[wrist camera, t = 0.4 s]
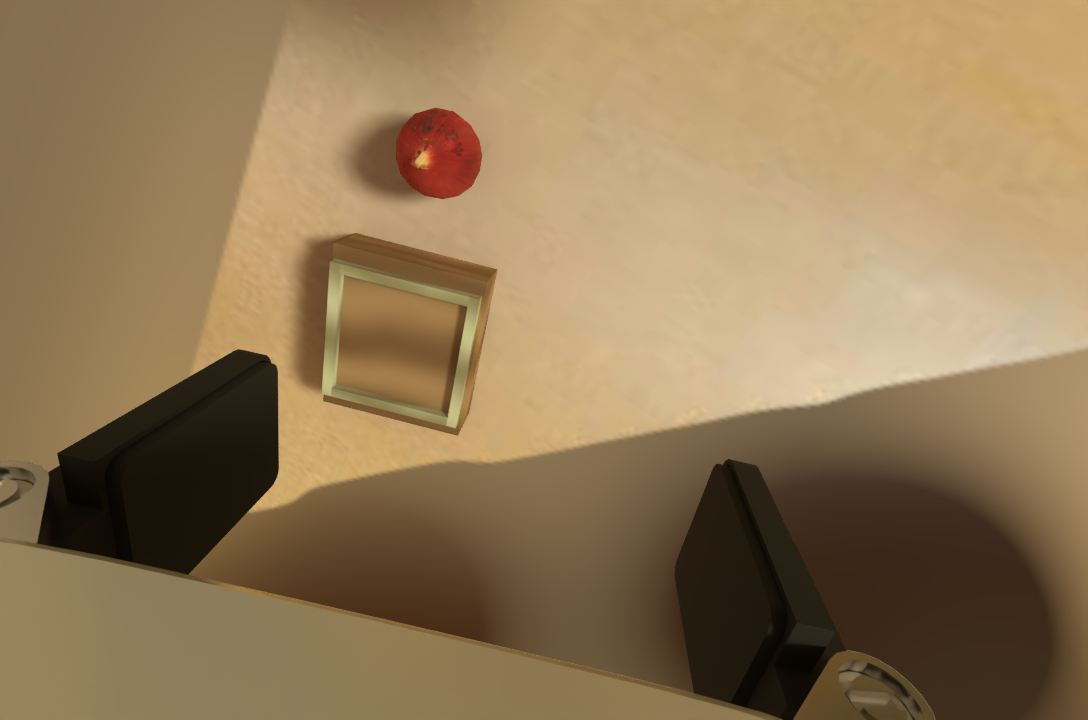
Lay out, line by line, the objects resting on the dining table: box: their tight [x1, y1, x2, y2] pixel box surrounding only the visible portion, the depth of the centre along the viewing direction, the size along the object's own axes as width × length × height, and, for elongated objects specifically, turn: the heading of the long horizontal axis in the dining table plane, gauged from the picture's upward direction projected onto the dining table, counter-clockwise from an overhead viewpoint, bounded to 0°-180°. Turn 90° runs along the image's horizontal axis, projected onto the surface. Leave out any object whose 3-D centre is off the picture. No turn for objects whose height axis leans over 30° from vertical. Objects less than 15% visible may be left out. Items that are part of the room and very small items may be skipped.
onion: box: [396, 108, 482, 199], centre depth 36 cm, size 6×6×8 cm
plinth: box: [322, 233, 497, 436], centre depth 44 cm, size 14×12×5 cm
